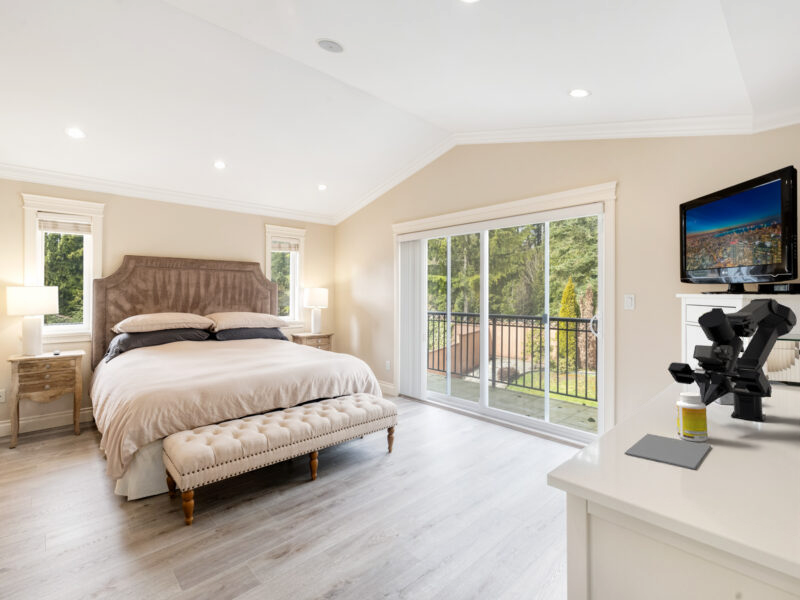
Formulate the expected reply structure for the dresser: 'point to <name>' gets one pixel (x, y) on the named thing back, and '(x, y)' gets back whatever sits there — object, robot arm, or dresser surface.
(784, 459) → the dresser surface
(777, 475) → the dresser surface
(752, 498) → the dresser surface
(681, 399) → the supplement bottle
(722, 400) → the medicine box
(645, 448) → the mat
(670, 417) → the dresser surface
